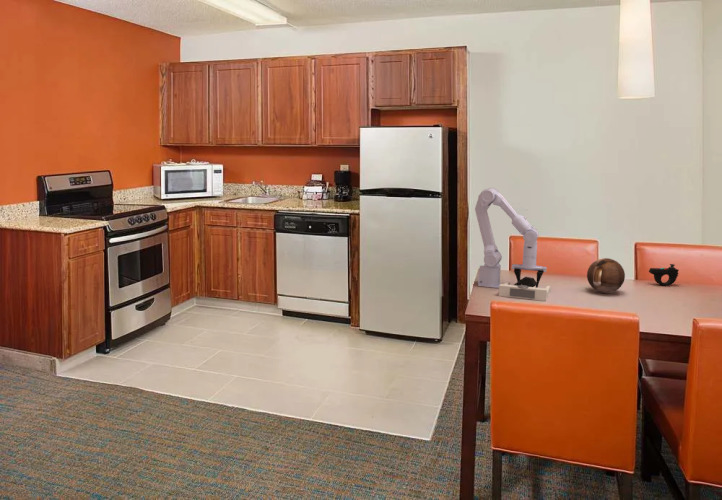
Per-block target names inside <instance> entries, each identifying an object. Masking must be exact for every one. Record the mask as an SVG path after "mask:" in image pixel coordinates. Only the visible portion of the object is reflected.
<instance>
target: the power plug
mask: <svg viewBox="0 0 722 500" xmlns="http://www.w3.org/2000/svg"><path fill="white" fill-rule="evenodd" d="M513 285H515V286H518V285H526V286H528V287H536V285H537V280H535V278H534V277H530V276H524V277H522V278H520V280H519V281H518V282H517V281H516V282H515V283H513Z"/></svg>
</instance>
